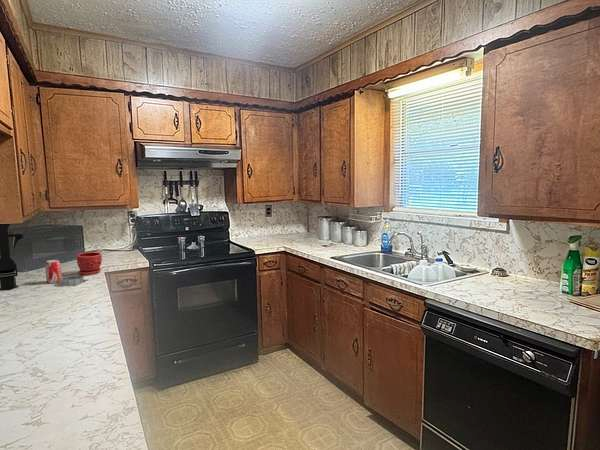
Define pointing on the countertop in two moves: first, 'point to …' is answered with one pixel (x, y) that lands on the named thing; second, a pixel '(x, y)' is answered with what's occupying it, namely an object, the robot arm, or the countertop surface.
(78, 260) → the plant pot
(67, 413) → the countertop surface
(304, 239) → the countertop surface
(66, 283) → the duct collar
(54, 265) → the soda can
